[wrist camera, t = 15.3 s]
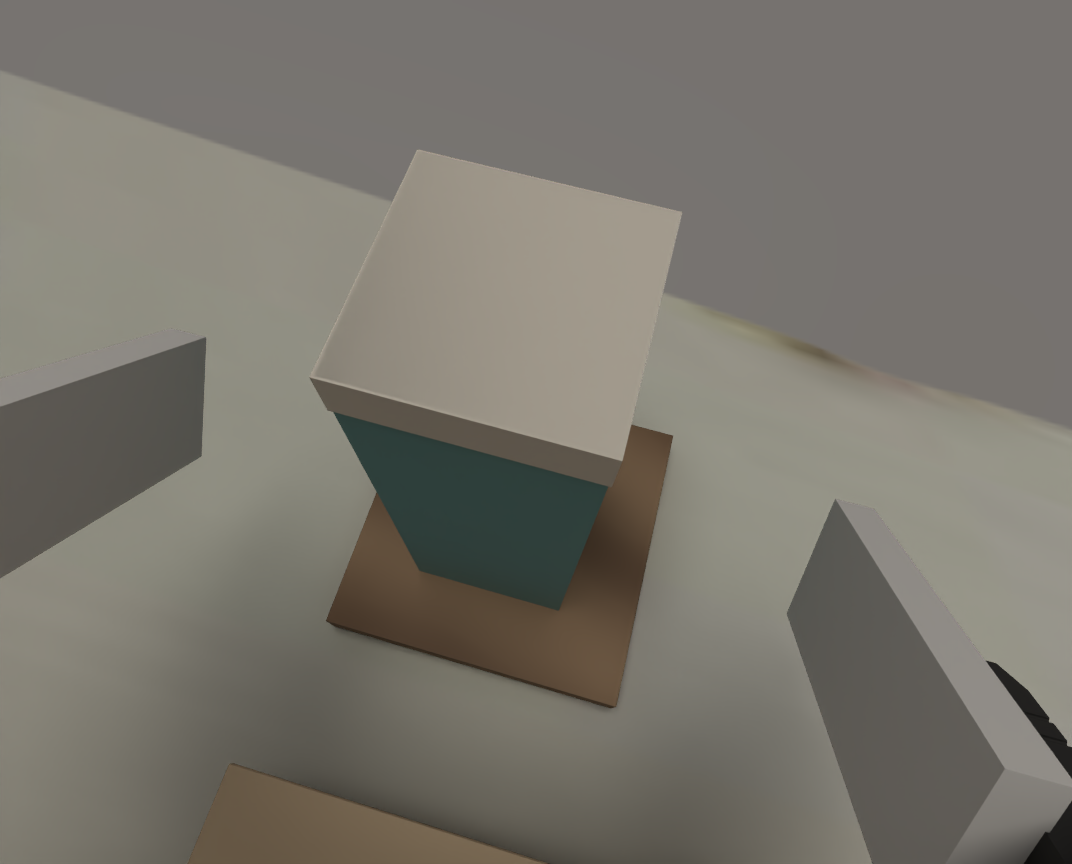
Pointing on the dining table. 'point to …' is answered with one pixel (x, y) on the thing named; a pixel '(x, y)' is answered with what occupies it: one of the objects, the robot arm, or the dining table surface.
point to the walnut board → (512, 624)
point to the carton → (322, 830)
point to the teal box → (497, 366)
